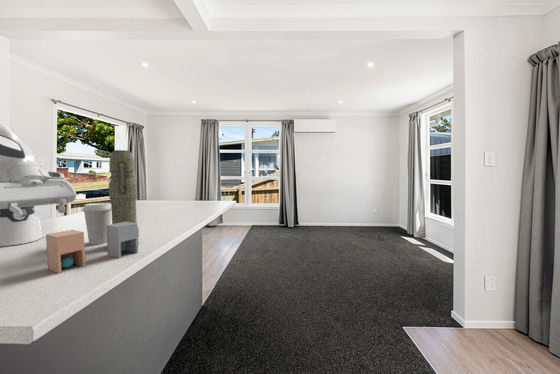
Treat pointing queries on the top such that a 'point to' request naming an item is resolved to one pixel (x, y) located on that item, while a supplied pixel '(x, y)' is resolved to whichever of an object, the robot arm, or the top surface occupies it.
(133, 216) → the thermos
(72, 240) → the tan block
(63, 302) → the top surface
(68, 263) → the teal ball
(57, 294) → the top surface
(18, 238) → the robot arm
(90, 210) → the coffee cup
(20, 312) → the top surface
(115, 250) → the light gray boxy block
